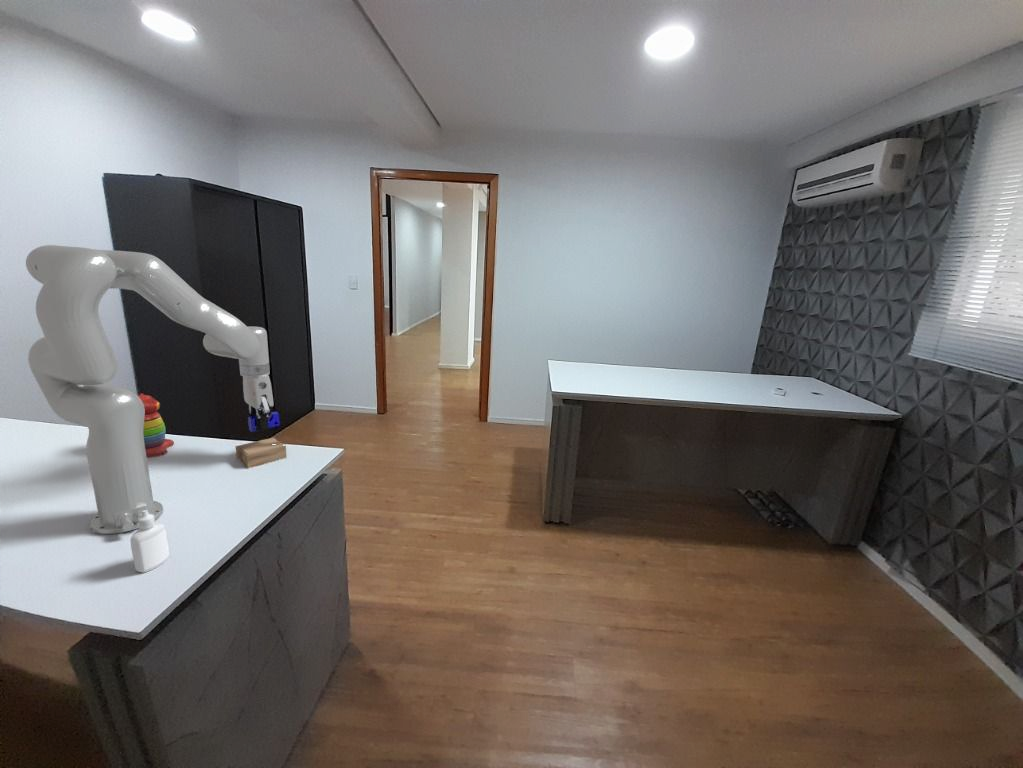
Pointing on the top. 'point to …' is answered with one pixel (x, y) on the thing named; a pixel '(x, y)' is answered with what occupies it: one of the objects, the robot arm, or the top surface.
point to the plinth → (260, 452)
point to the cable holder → (272, 421)
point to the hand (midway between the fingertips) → (259, 427)
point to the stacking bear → (154, 428)
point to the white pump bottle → (149, 544)
